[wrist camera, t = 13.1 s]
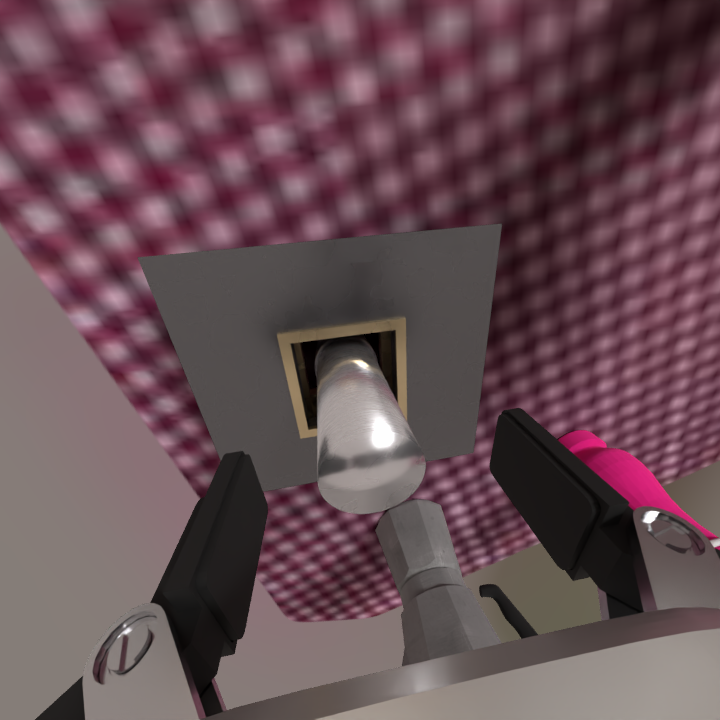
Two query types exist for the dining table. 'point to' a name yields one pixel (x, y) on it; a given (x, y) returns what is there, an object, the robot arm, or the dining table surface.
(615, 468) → the pepper mill
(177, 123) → the dining table surface
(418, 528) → the coffeepot
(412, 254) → the grey square socket block
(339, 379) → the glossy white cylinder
